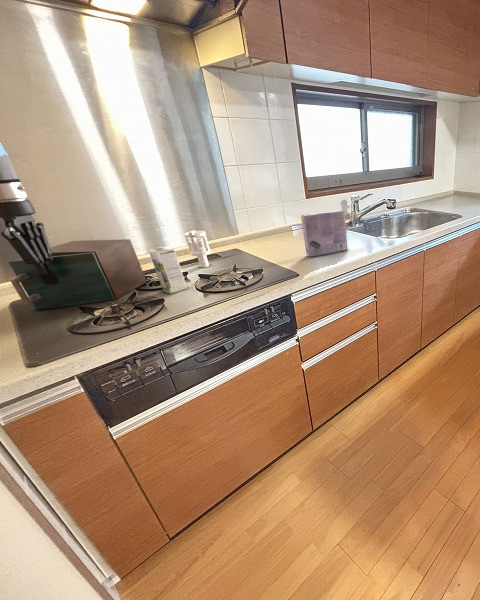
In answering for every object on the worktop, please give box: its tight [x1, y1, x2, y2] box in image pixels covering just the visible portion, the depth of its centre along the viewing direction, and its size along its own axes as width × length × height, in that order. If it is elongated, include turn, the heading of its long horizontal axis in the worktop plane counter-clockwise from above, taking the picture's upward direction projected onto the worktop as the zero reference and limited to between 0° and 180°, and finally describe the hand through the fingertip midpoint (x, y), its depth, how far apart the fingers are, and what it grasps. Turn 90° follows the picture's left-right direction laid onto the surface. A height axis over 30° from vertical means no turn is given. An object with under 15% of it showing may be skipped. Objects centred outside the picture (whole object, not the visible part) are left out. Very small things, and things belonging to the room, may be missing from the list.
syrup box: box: [148, 245, 188, 295], centre depth 108 cm, size 6×6×14 cm
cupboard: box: [50, 238, 148, 299], centre depth 109 cm, size 14×20×16 cm
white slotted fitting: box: [183, 230, 211, 268], centre depth 129 cm, size 7×7×15 cm
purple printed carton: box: [300, 210, 349, 258], centre depth 141 cm, size 19×5×18 cm, turn 123°
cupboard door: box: [8, 252, 116, 311], centre depth 97 cm, size 6×20×16 cm, turn 109°
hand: (52, 283), depth 95 cm, fingers closed
